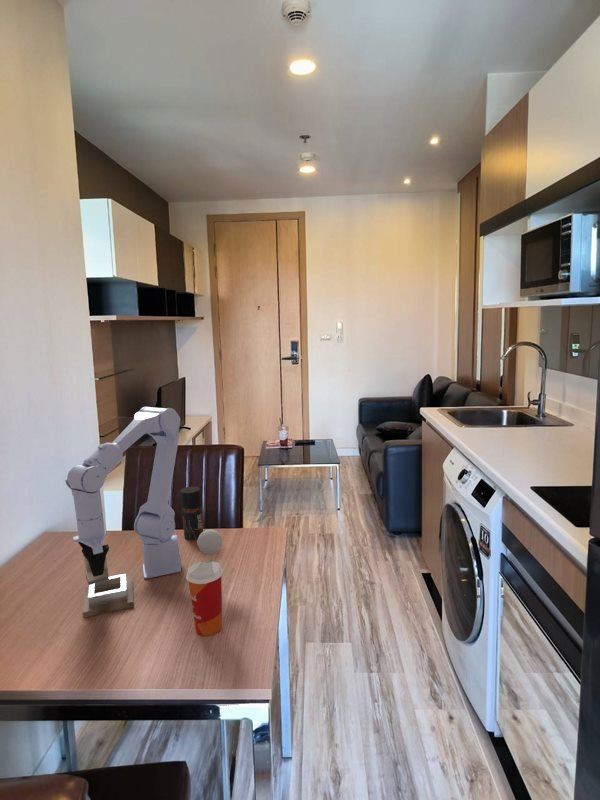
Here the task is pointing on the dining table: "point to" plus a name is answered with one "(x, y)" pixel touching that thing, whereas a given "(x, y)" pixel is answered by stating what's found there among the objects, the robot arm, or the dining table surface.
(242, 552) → the dining table surface
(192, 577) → the paper cup
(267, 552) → the dining table surface
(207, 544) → the lollipop
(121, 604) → the collar board
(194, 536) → the deodorant
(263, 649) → the dining table surface
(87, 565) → the sleeve block
